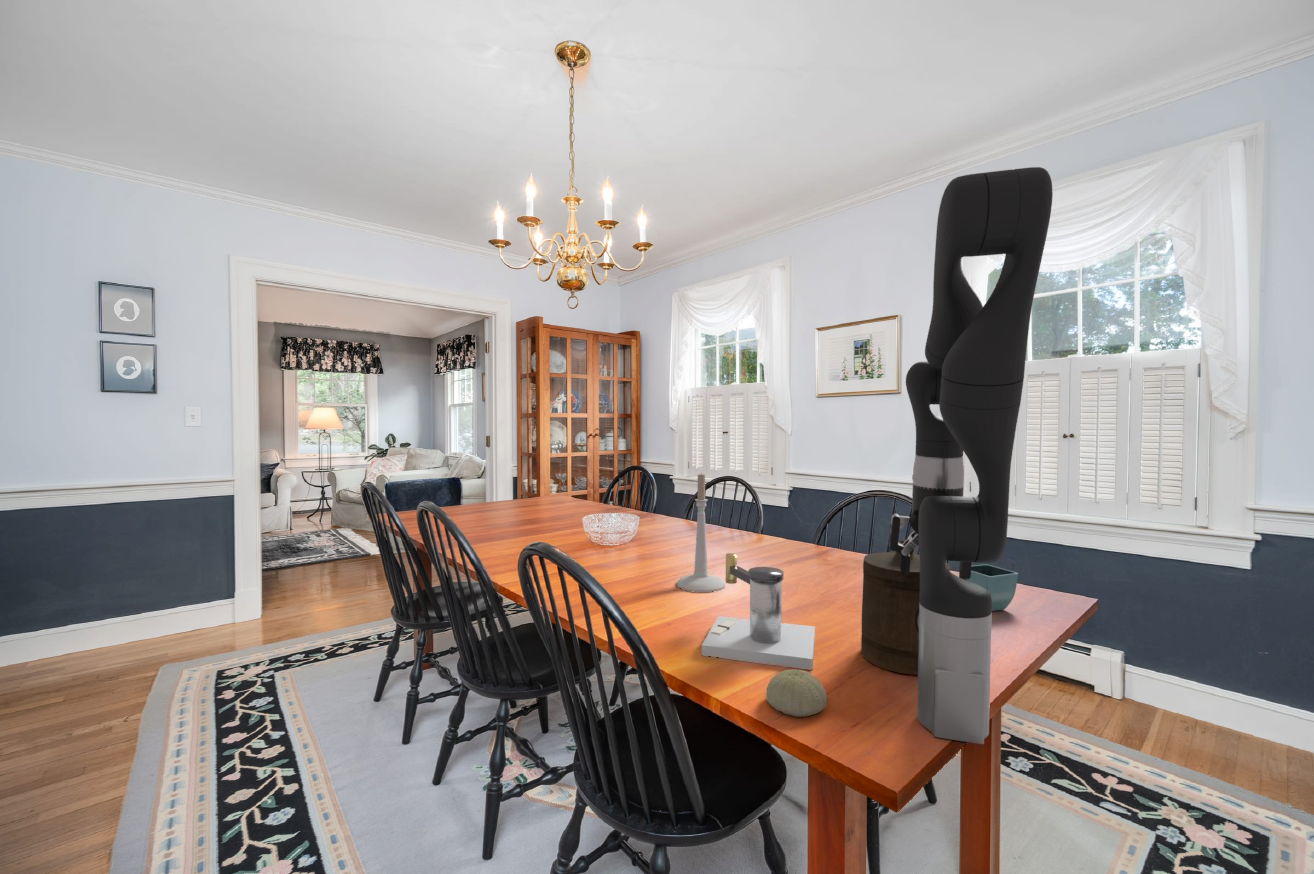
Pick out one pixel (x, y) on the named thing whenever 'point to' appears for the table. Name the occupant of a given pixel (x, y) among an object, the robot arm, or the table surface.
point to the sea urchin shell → (796, 693)
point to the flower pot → (995, 583)
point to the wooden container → (891, 612)
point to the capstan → (760, 598)
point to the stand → (760, 644)
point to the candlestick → (701, 552)
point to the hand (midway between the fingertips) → (934, 578)
